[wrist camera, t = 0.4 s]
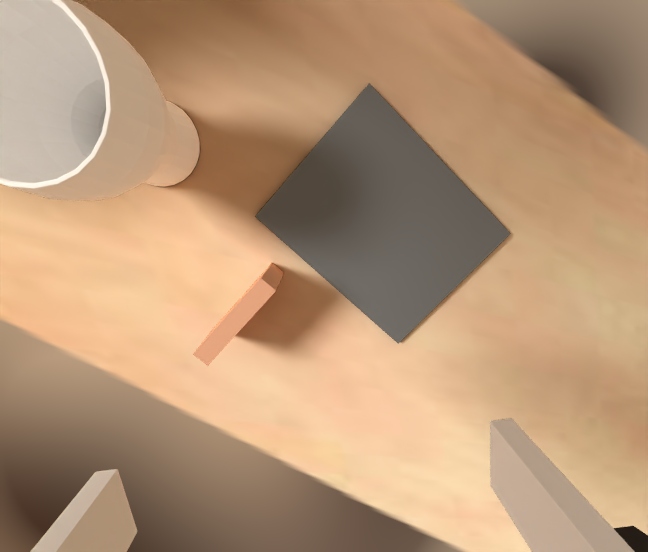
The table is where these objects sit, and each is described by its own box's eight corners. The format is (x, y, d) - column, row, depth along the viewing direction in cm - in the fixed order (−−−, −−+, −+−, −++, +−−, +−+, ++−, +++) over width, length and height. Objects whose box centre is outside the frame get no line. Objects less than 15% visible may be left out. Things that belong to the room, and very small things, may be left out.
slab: (216, 324, 34) (192, 354, 27) (271, 262, 33) (261, 278, 26) (228, 333, 34) (207, 365, 28) (283, 272, 33) (276, 290, 26)
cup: (233, 117, 30) (155, 34, 15) (190, 221, 32) (83, 236, 17) (122, 57, 28) (-83, -100, 14) (84, 169, 30) (-132, 136, 16)
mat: (255, 216, 32) (254, 216, 31) (368, 85, 29) (369, 83, 29) (396, 341, 35) (398, 343, 35) (507, 233, 33) (510, 233, 32)
